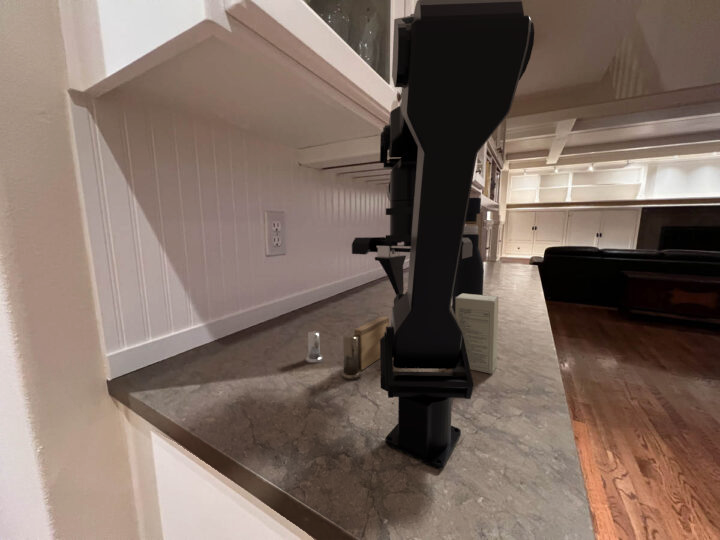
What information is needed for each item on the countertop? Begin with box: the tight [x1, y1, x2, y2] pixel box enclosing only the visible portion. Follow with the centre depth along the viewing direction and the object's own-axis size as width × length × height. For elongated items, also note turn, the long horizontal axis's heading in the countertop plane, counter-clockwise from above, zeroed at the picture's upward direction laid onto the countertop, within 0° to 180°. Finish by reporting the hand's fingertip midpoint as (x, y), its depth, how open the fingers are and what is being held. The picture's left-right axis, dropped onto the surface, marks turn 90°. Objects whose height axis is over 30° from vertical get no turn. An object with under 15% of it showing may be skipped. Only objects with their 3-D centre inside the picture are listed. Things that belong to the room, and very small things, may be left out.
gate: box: [354, 315, 390, 371], centre depth 52 cm, size 9×1×7 cm, turn 145°
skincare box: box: [455, 293, 499, 375], centre depth 49 cm, size 6×4×12 cm
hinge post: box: [340, 333, 362, 381], centre depth 47 cm, size 3×3×6 cm
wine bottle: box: [451, 197, 485, 313], centre depth 65 cm, size 6×6×30 cm
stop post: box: [305, 330, 324, 364], centre depth 52 cm, size 3×3×5 cm
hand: (406, 299), depth 47 cm, fingers open, 2 cm apart
